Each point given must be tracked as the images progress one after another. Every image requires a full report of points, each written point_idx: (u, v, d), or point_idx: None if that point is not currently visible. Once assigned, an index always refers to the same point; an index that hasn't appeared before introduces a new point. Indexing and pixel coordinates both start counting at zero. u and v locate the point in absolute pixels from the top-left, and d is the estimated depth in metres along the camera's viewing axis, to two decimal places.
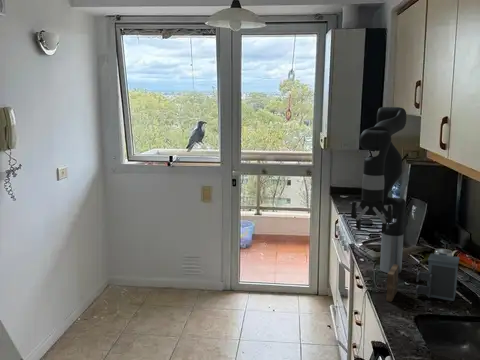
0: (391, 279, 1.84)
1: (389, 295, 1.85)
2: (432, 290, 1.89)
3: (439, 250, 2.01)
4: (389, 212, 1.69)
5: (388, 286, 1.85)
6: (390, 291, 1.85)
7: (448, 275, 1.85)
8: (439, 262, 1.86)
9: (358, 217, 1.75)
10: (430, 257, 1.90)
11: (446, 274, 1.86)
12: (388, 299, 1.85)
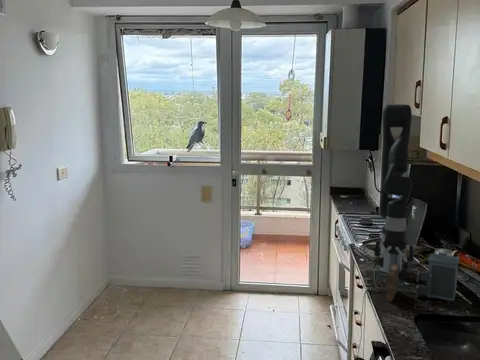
0: (391, 279, 1.84)
1: (389, 295, 1.85)
2: (432, 290, 1.89)
3: (439, 250, 2.01)
4: (411, 252, 1.83)
5: (388, 286, 1.85)
6: (390, 291, 1.85)
7: (448, 275, 1.85)
8: (439, 262, 1.86)
9: (381, 255, 1.89)
10: (430, 257, 1.90)
11: (446, 274, 1.86)
12: (388, 299, 1.85)
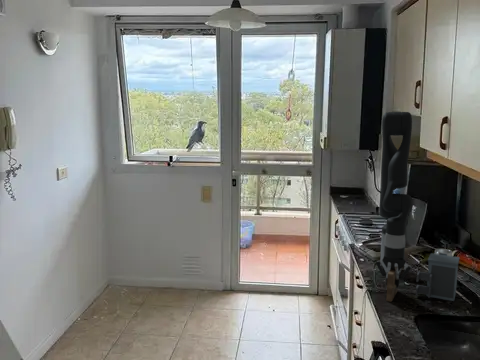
0: (391, 279, 1.84)
1: (389, 295, 1.85)
2: (432, 290, 1.89)
3: (439, 250, 2.01)
4: (406, 271, 1.86)
5: (388, 286, 1.85)
6: (390, 290, 1.85)
7: (448, 275, 1.85)
8: (439, 262, 1.86)
9: None
10: (430, 257, 1.90)
11: (446, 274, 1.86)
12: (388, 299, 1.85)
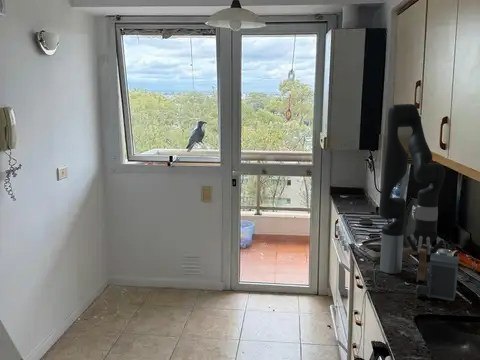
0: (423, 256, 1.76)
1: (421, 273, 1.77)
2: (432, 290, 1.89)
3: (439, 250, 2.01)
4: (438, 245, 1.77)
5: (420, 263, 1.76)
6: (421, 268, 1.76)
7: (448, 275, 1.85)
8: (439, 262, 1.86)
9: None
10: None
11: (446, 274, 1.86)
12: (420, 277, 1.77)
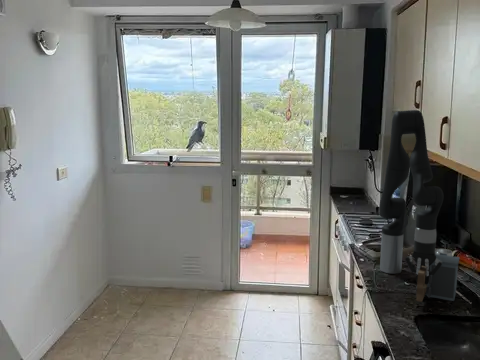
0: (422, 278, 1.77)
1: (419, 295, 1.78)
2: (432, 290, 1.89)
3: (439, 250, 2.01)
4: (436, 267, 1.79)
5: (418, 285, 1.78)
6: (420, 290, 1.78)
7: (448, 275, 1.85)
8: None
9: (418, 271, 1.82)
10: None
11: (446, 274, 1.86)
12: (418, 299, 1.79)
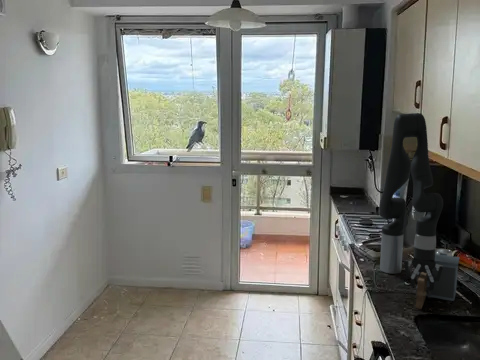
0: (421, 285, 1.77)
1: (419, 302, 1.79)
2: (432, 290, 1.89)
3: (439, 250, 2.01)
4: (439, 272, 1.79)
5: (418, 293, 1.78)
6: (420, 297, 1.78)
7: (448, 275, 1.85)
8: (439, 262, 1.86)
9: (413, 276, 1.83)
10: None
11: (446, 274, 1.86)
12: (418, 306, 1.79)
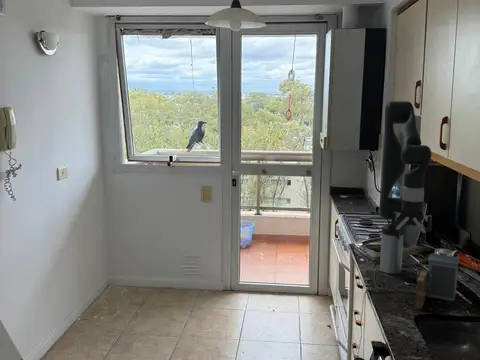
0: (421, 285, 1.78)
1: (419, 302, 1.79)
2: (432, 290, 1.89)
3: (439, 250, 2.01)
4: (429, 222, 1.79)
5: (418, 293, 1.78)
6: (419, 297, 1.78)
7: (448, 275, 1.85)
8: (439, 262, 1.86)
9: (398, 227, 1.84)
10: (430, 257, 1.90)
11: (446, 274, 1.86)
12: (418, 306, 1.79)
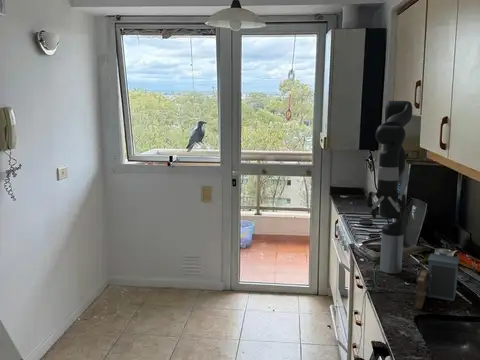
0: (421, 285, 1.78)
1: (419, 302, 1.79)
2: (432, 290, 1.89)
3: (439, 250, 2.01)
4: (403, 201, 1.83)
5: (418, 293, 1.78)
6: (420, 297, 1.78)
7: (448, 275, 1.85)
8: (439, 262, 1.86)
9: (374, 206, 1.88)
10: (430, 257, 1.90)
11: (446, 274, 1.86)
12: (418, 306, 1.79)
